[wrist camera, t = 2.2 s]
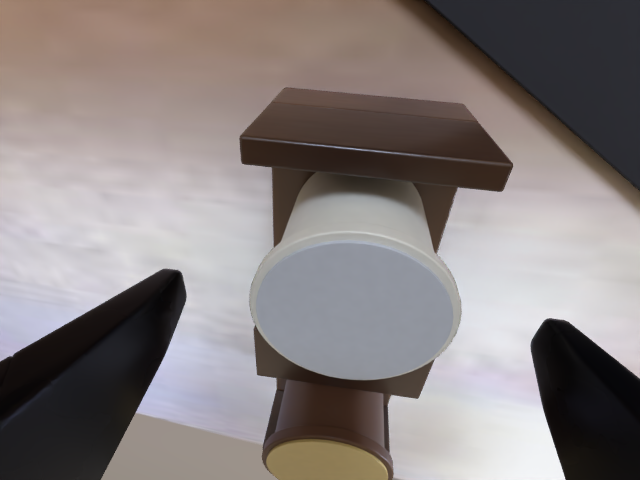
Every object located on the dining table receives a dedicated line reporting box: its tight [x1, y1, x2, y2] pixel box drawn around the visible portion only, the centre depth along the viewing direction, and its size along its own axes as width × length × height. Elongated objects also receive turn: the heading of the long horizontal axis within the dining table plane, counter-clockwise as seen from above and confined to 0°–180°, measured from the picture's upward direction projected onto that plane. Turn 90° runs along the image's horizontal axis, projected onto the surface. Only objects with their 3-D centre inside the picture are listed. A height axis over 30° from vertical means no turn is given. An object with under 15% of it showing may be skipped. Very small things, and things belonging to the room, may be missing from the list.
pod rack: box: [239, 88, 513, 454], centre depth 14 cm, size 6×16×5 cm, turn 177°
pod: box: [262, 380, 393, 480], centre depth 15 cm, size 5×5×5 cm
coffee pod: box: [250, 172, 462, 380], centre depth 10 cm, size 5×5×5 cm
